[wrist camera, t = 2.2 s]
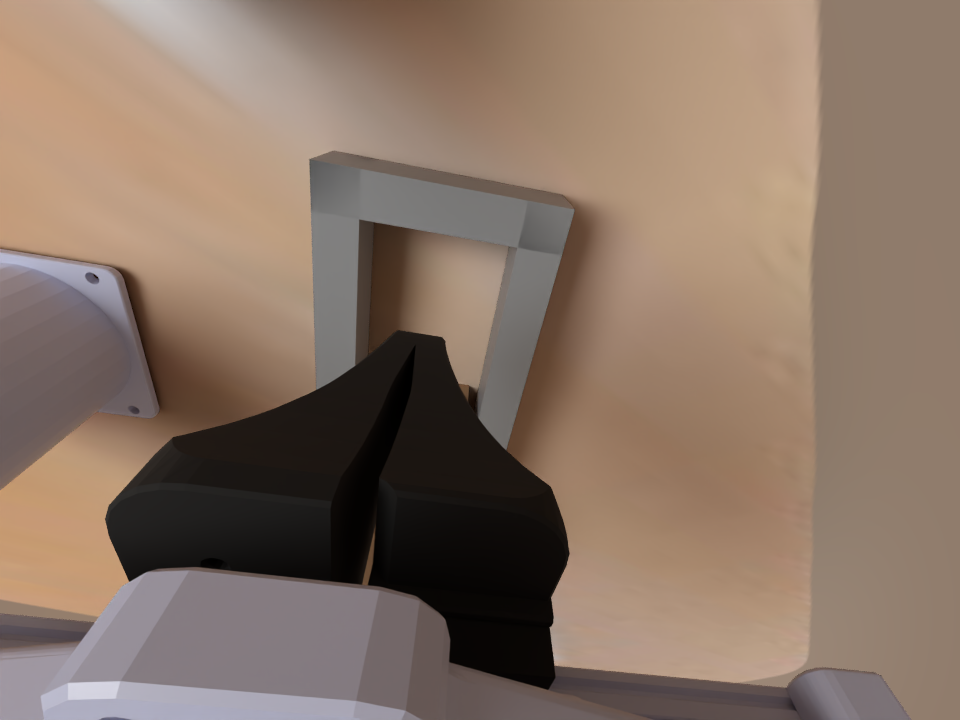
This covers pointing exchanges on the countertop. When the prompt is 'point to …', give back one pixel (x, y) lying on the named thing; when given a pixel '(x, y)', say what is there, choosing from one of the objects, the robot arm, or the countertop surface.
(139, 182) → the countertop surface
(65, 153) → the countertop surface
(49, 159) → the countertop surface
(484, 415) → the channel
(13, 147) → the countertop surface
